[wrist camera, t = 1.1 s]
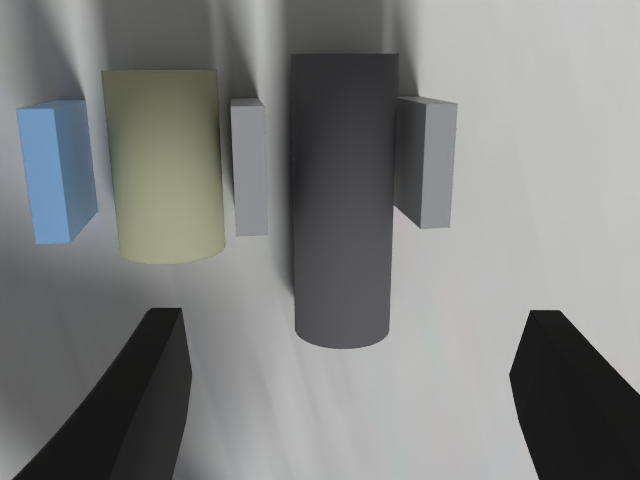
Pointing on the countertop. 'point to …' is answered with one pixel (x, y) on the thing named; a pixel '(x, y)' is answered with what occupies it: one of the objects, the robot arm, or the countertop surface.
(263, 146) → the rectangular blocks
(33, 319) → the countertop surface
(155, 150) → the olive yellow cylinder
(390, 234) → the dark grey cylinder
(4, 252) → the countertop surface
